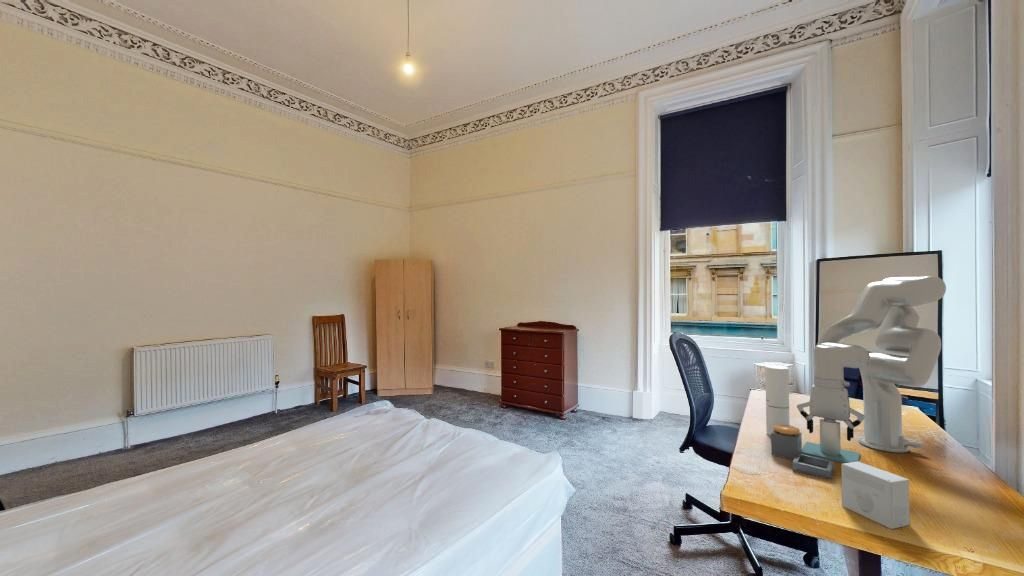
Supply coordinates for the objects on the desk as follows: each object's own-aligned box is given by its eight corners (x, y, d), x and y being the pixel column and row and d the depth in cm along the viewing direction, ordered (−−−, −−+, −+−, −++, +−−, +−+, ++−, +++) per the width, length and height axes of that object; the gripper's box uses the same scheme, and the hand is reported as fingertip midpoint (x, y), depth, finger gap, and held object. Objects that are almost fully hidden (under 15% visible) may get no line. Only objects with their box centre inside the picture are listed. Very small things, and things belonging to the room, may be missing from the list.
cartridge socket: (834, 469, 116) (834, 461, 116) (830, 480, 110) (830, 471, 110) (798, 461, 123) (798, 453, 123) (792, 470, 116) (792, 461, 116)
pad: (860, 454, 127) (860, 452, 127) (857, 466, 118) (857, 464, 118) (806, 443, 137) (806, 441, 137) (800, 453, 128) (800, 451, 128)
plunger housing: (801, 454, 128) (801, 432, 128) (797, 460, 123) (797, 438, 123) (776, 448, 133) (776, 427, 133) (771, 454, 128) (771, 432, 128)
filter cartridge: (841, 452, 128) (841, 418, 128) (839, 456, 124) (839, 422, 124) (821, 447, 131) (820, 414, 131) (818, 452, 128) (818, 418, 128)
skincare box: (911, 525, 89) (910, 478, 89) (892, 530, 87) (891, 482, 87) (859, 501, 99) (858, 459, 99) (840, 505, 97) (840, 463, 97)
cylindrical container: (782, 431, 149) (781, 365, 149) (794, 438, 141) (792, 369, 142) (762, 430, 149) (761, 365, 150) (773, 437, 142) (772, 368, 142)
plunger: (801, 443, 128) (801, 427, 128) (797, 449, 123) (797, 433, 123) (776, 437, 133) (776, 422, 133) (771, 443, 128) (771, 427, 128)
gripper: (865, 385, 125) (866, 439, 124) (798, 377, 137) (799, 426, 136) (863, 389, 119) (864, 446, 119) (794, 381, 131) (795, 432, 131)
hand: (829, 435), depth 128 cm, fingers open, 9 cm apart
